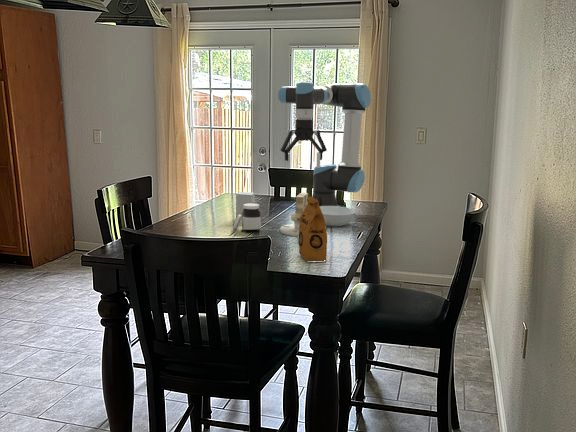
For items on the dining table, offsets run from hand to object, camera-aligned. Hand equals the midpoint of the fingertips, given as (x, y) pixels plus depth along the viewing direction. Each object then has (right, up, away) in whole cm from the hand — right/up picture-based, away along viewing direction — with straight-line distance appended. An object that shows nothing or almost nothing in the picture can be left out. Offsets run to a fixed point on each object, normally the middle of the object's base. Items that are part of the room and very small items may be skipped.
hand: (303, 167), depth 251 cm
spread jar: (-25, -28, -2) cm, 37 cm away
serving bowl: (+14, -25, +14) cm, 32 cm away
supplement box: (-27, -23, +20) cm, 41 cm away
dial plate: (-1, -28, -2) cm, 28 cm away
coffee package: (+2, -37, -43) cm, 57 cm away
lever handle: (-1, -23, -3) cm, 23 cm away
